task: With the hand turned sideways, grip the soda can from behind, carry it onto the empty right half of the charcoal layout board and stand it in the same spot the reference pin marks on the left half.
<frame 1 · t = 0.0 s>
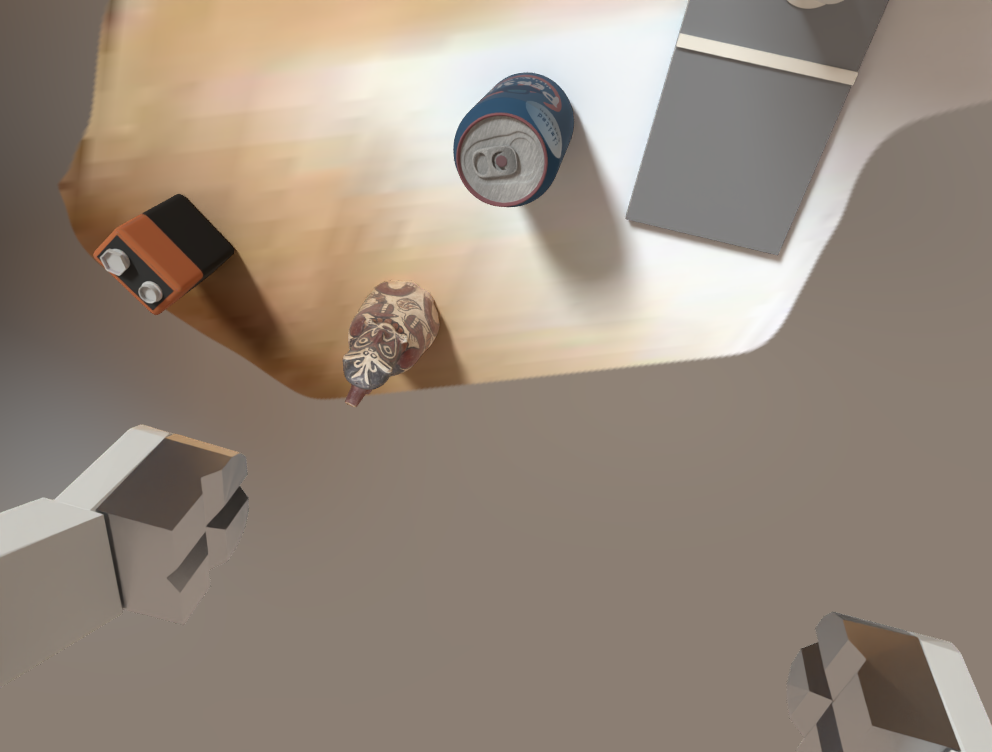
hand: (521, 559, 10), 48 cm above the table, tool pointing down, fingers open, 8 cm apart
figurine: (404, 313, 65), on the table
battery: (198, 233, 64), on the table
soda can: (530, 118, 53), on the table
layout board: (763, 56, 48), on the table
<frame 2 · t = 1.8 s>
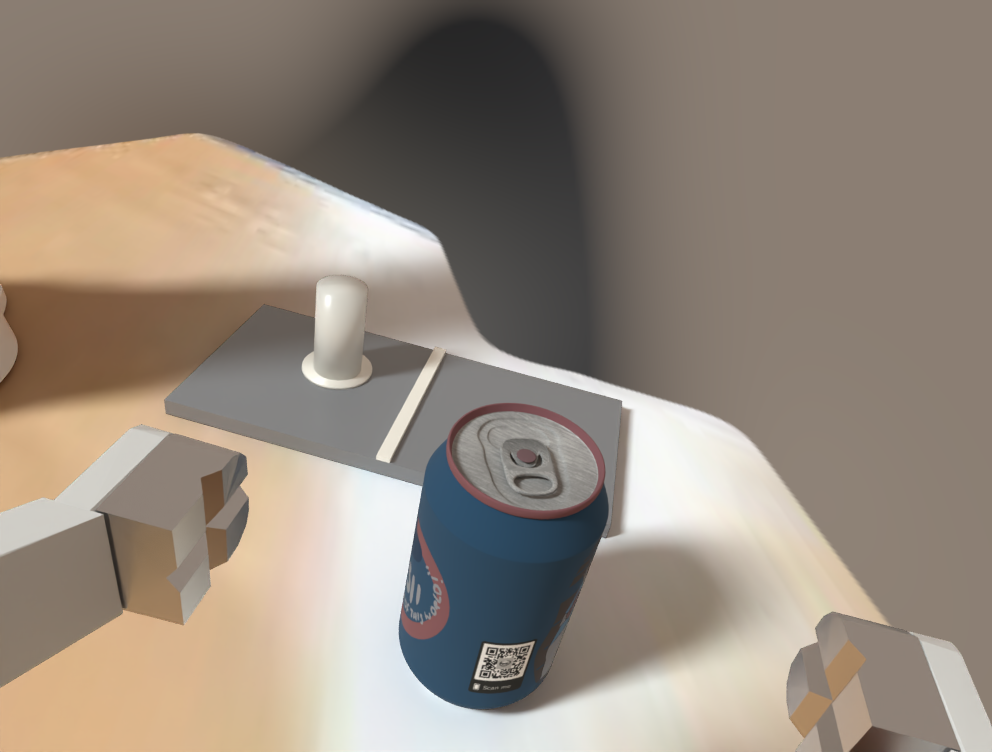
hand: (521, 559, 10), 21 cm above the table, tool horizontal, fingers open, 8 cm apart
soda can: (472, 651, 32), on the table
layout board: (412, 412, 44), on the table
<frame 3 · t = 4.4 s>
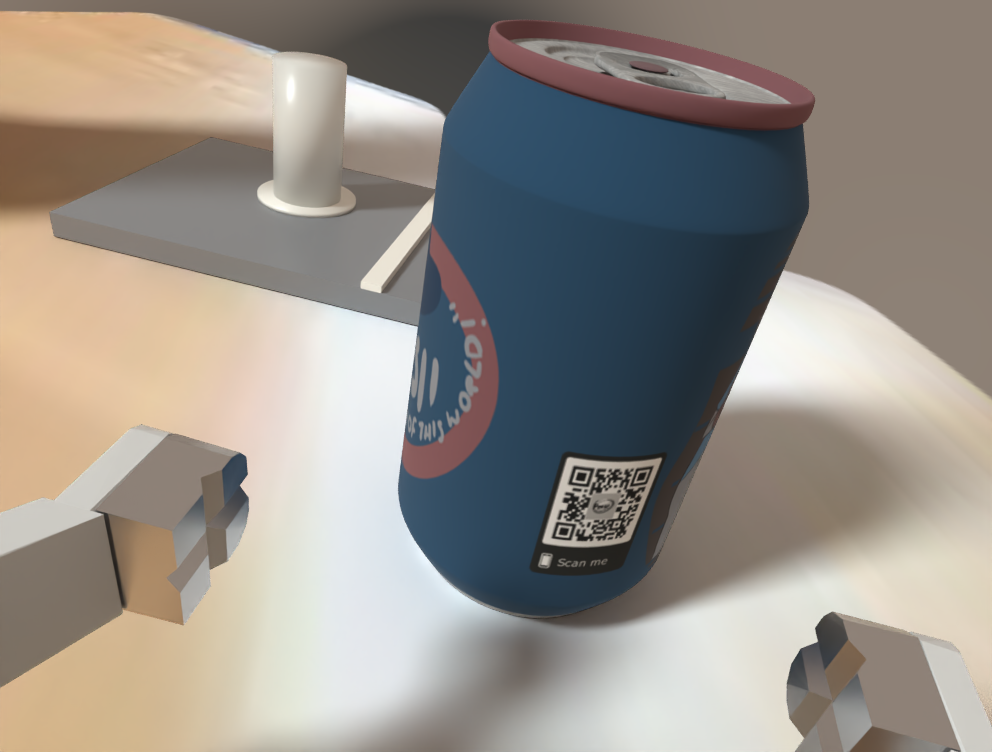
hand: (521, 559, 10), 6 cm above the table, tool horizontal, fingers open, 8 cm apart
soda can: (521, 535, 19), on the table
layout board: (413, 254, 32), on the table
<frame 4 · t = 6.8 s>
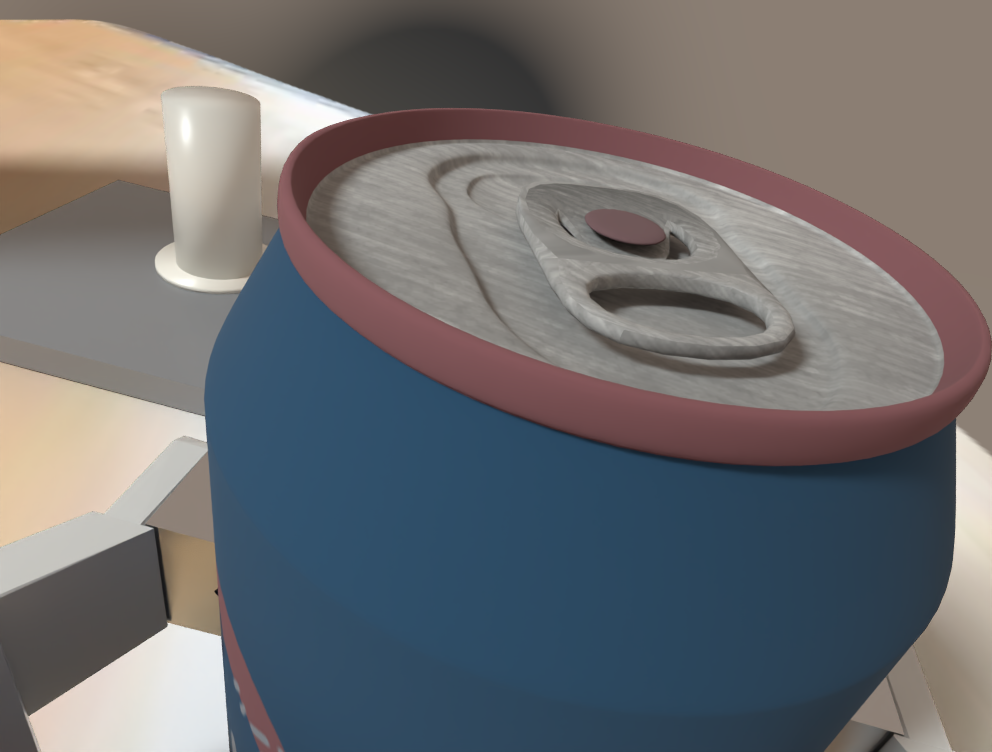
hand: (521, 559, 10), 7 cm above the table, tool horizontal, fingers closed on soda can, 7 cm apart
layout board: (349, 336, 26), on the table
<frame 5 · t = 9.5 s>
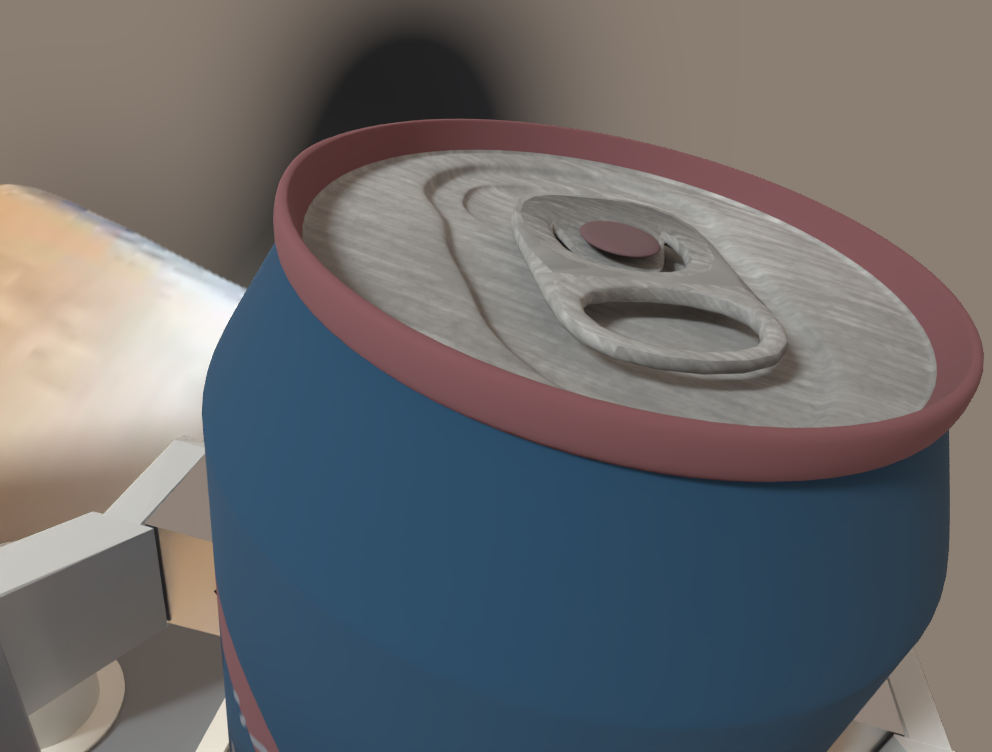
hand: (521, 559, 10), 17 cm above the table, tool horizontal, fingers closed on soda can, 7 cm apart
when the fingers open (9 cm above the table, at t = 12.5 s): soda can moves 1 cm, resting on layout board.
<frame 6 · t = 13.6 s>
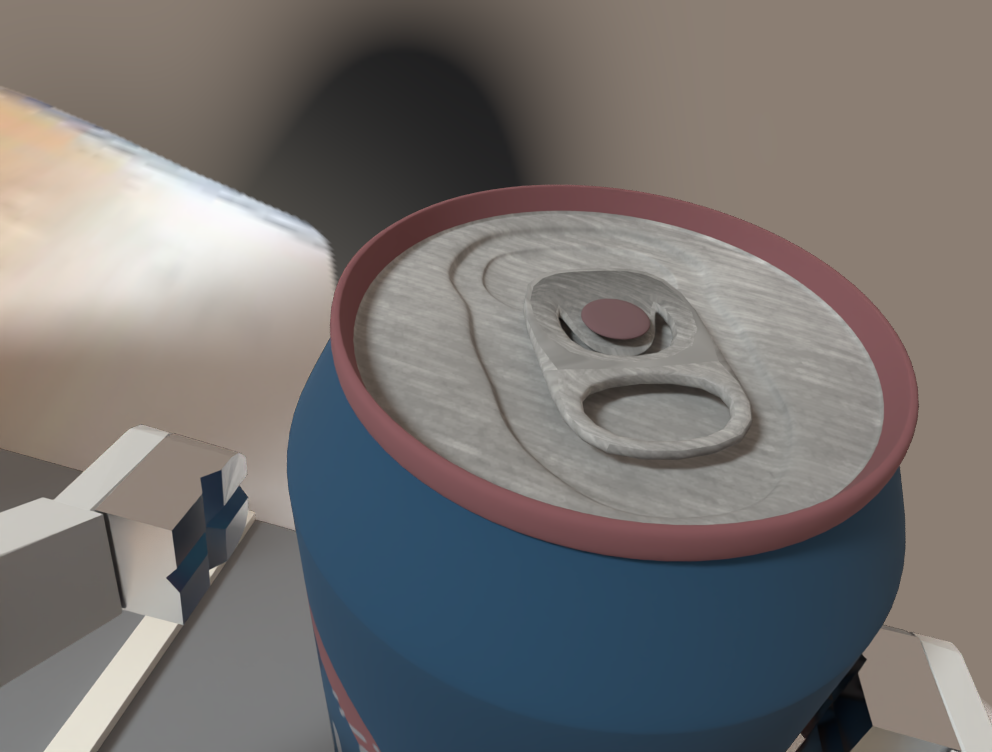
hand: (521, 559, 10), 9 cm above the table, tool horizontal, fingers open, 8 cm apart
layout board: (108, 737, 15), on the table
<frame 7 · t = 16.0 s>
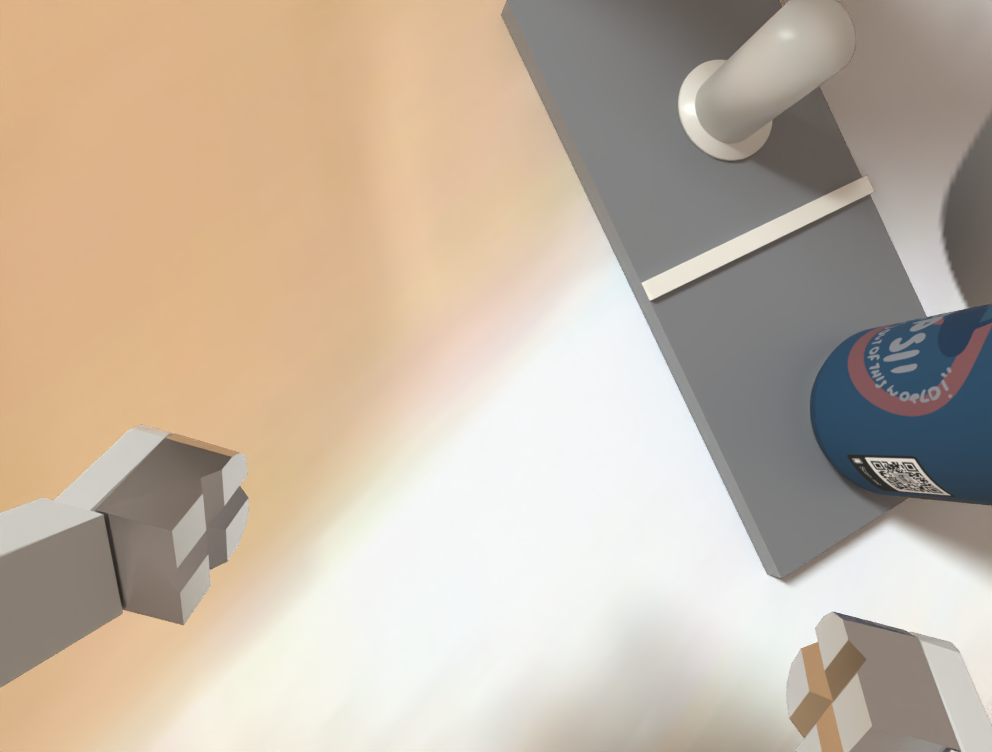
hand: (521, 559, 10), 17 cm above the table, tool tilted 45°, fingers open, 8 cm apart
soda can: (861, 412, 30), point 1 cm above the table, touching layout board
layout board: (747, 242, 31), on the table
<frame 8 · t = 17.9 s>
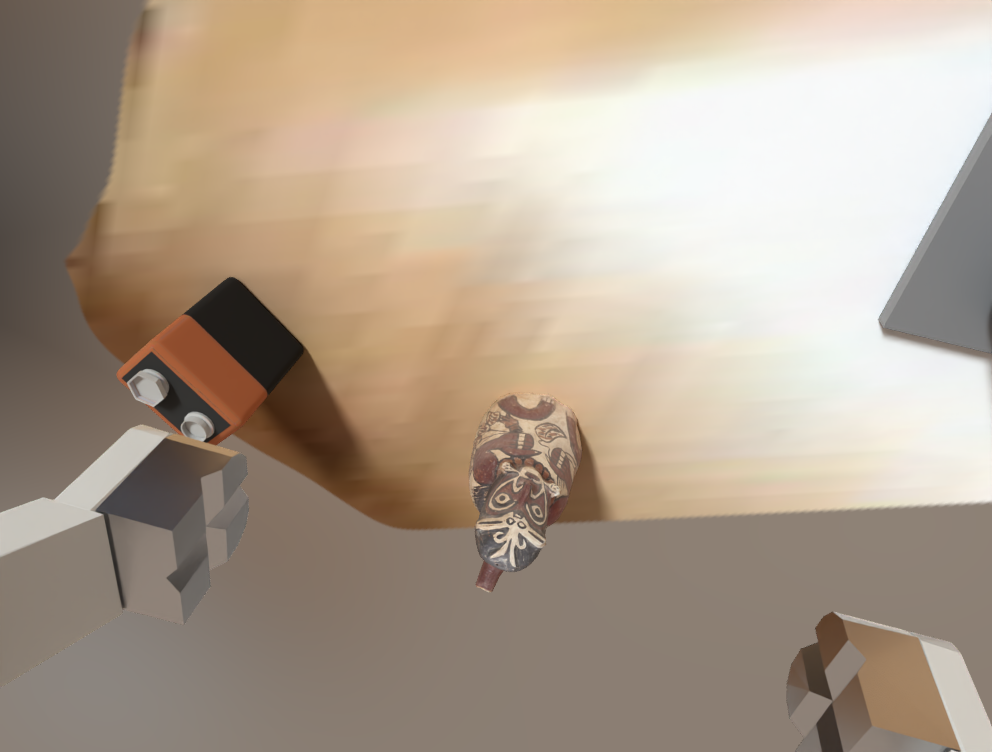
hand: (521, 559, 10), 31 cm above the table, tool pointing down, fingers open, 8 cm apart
figurine: (531, 433, 48), on the table
battery: (254, 325, 48), on the table
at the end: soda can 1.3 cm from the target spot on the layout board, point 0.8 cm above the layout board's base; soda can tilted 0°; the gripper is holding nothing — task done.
